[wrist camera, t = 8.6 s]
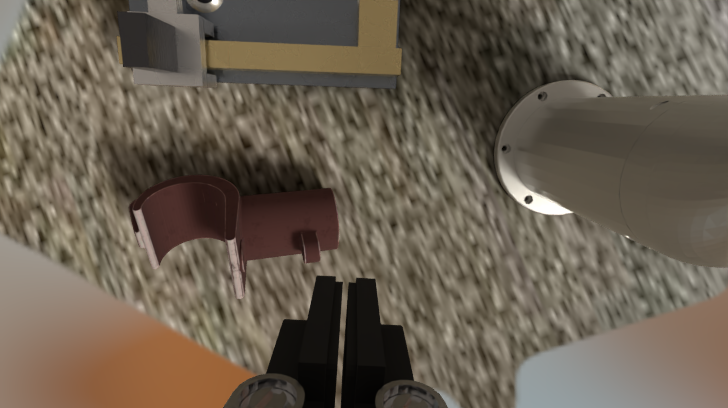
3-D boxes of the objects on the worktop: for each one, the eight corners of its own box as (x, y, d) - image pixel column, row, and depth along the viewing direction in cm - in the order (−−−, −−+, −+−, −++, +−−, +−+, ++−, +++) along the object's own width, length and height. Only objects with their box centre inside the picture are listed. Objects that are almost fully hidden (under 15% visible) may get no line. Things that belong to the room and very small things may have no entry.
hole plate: (401, -62, 33) (403, -67, 32) (394, 88, 36) (396, 88, 35) (126, -78, 32) (119, -85, 31) (142, 79, 35) (135, 78, 34)
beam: (400, -5, 34) (405, -14, 31) (396, 76, 35) (400, 74, 33) (126, -20, 32) (109, -29, 30) (135, 66, 34) (119, 63, 31)
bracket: (124, 176, 34) (93, 256, 26) (322, 161, 38) (346, 226, 31) (142, 231, 38) (120, 316, 30) (322, 212, 42) (343, 282, 34)
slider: (211, -19, 32) (167, -62, 24) (217, 88, 34) (178, 83, 26) (146, -23, 32) (78, -67, 24) (156, 85, 34) (96, 80, 26)
